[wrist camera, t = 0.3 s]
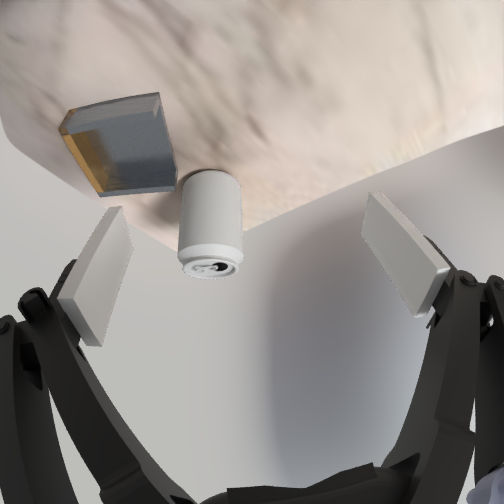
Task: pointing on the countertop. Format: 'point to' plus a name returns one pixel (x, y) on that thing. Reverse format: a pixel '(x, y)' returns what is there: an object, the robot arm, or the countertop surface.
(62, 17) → the countertop surface
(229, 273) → the can
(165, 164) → the open rectangular tray
